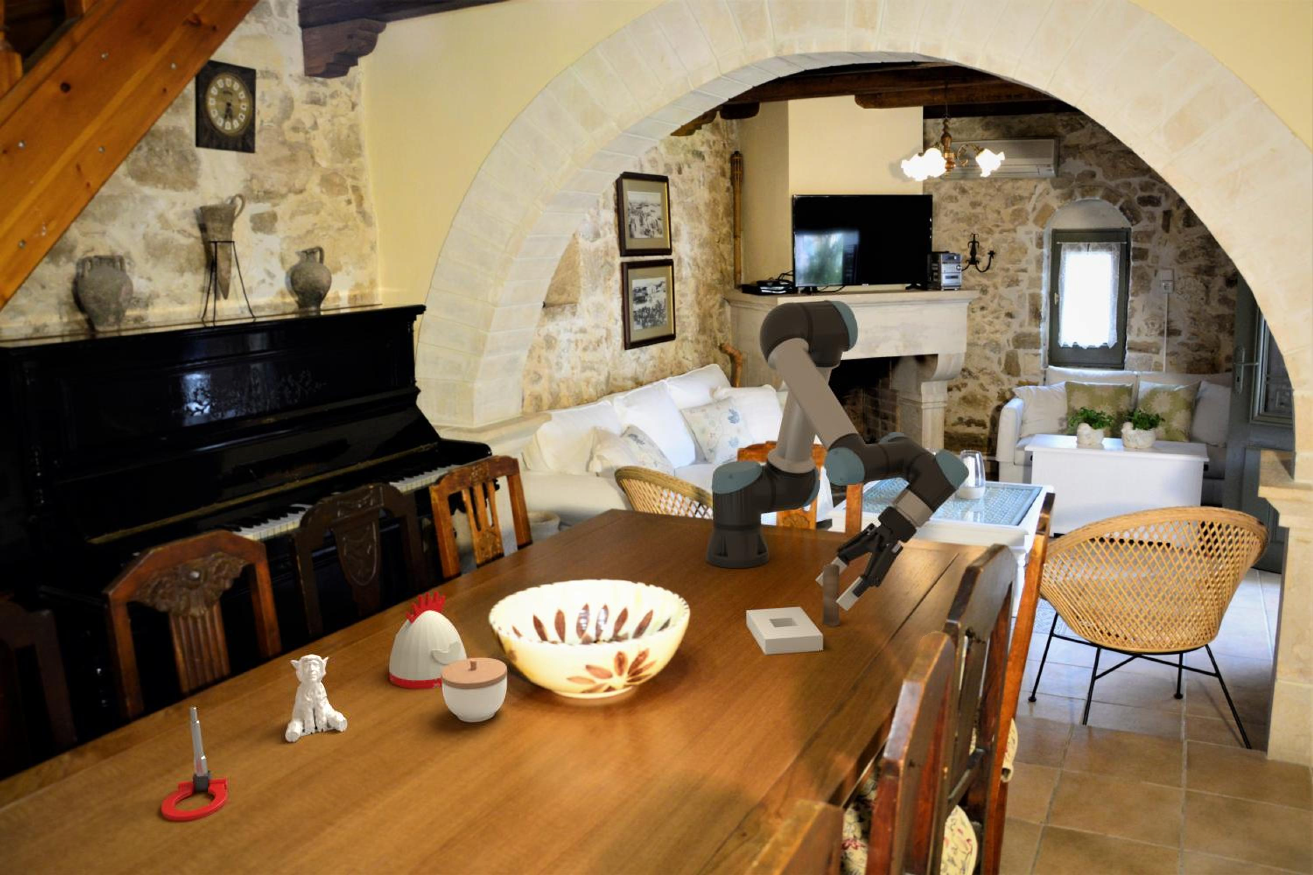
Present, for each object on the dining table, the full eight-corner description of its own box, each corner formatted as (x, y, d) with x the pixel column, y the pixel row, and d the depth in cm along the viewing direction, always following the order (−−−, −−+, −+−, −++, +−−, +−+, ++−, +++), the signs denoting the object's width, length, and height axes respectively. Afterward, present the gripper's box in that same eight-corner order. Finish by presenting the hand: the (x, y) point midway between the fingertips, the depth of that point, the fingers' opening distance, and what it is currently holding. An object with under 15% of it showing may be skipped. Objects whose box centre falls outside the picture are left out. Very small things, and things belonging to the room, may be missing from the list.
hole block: (746, 624, 213) (746, 610, 212) (800, 620, 214) (800, 606, 214) (765, 654, 197) (765, 639, 197) (822, 650, 198) (822, 635, 198)
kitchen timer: (483, 671, 192) (479, 592, 190) (419, 695, 182) (414, 612, 180) (437, 652, 202) (433, 577, 199) (374, 675, 192) (368, 595, 189)
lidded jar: (520, 704, 178) (517, 651, 176) (490, 732, 168) (487, 676, 166) (463, 697, 181) (460, 645, 180) (430, 723, 171) (427, 669, 170)
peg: (820, 622, 213) (821, 564, 211) (836, 620, 214) (836, 563, 211) (825, 627, 210) (825, 569, 208) (841, 626, 211) (841, 568, 208)
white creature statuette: (286, 744, 165) (280, 671, 163) (278, 723, 173) (272, 653, 171) (348, 730, 170) (343, 659, 168) (337, 710, 177) (332, 642, 175)
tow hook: (219, 821, 144) (235, 784, 153) (207, 734, 141) (225, 702, 150) (153, 827, 143) (174, 789, 152) (141, 740, 140) (163, 707, 149)
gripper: (942, 546, 198) (864, 628, 199) (894, 513, 223) (824, 587, 223) (915, 520, 197) (837, 603, 197) (870, 490, 221) (800, 564, 221)
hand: (830, 595), depth 210 cm, fingers open, 13 cm apart
